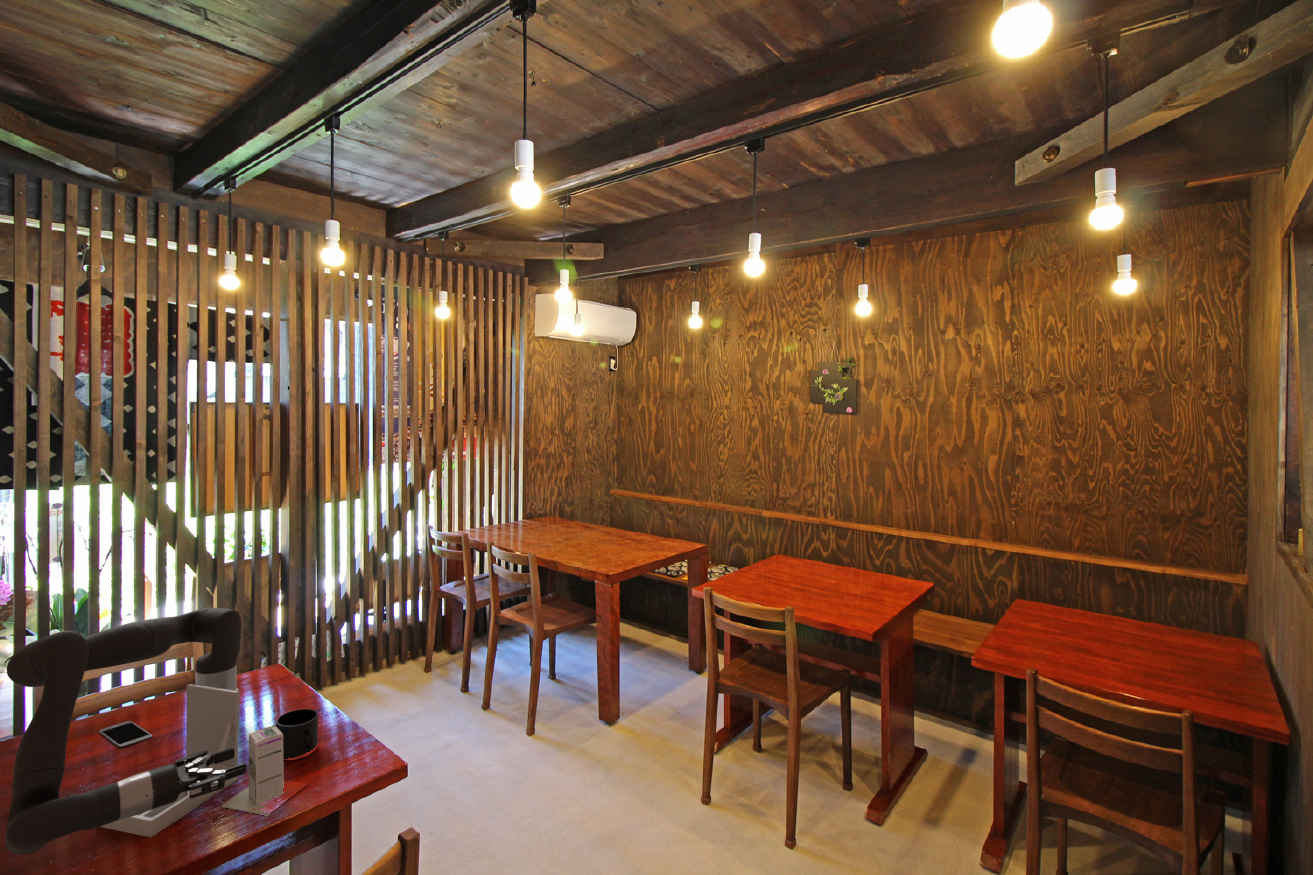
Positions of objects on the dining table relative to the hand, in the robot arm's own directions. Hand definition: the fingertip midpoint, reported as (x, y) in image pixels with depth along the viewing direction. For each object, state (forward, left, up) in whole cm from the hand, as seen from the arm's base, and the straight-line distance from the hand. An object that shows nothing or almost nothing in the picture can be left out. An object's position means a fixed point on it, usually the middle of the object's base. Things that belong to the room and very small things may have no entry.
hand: (239, 759), depth 139 cm
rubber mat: (-5, +3, -11) cm, 12 cm away
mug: (-22, -3, -11) cm, 24 cm away
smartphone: (-17, -53, -11) cm, 57 cm away
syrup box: (-4, +3, -10) cm, 12 cm away
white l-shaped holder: (+2, -15, -11) cm, 19 cm away
